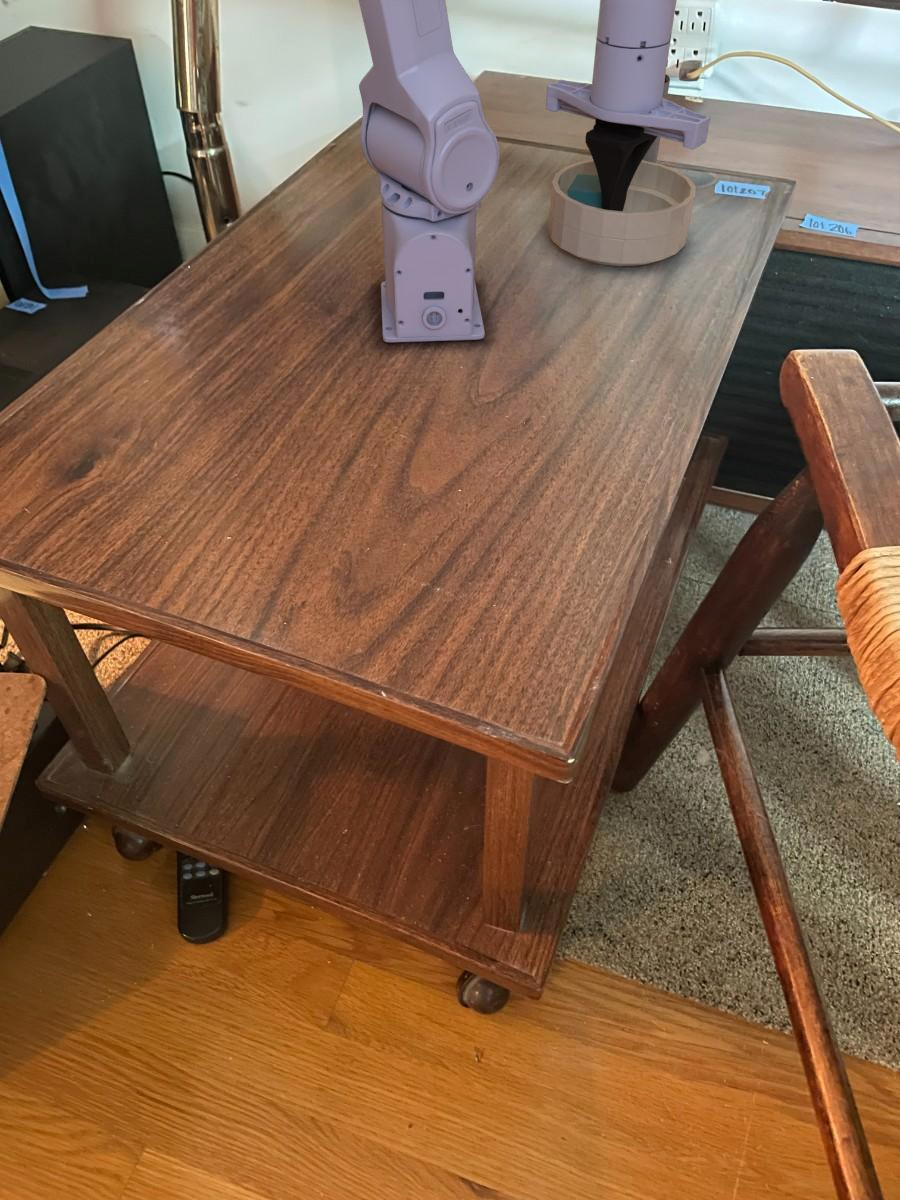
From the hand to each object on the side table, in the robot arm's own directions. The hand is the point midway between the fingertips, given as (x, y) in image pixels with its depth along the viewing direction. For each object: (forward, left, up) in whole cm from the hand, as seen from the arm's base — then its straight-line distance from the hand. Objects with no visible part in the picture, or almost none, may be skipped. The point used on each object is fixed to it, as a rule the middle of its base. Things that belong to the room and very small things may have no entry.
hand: (611, 213), depth 79 cm
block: (+3, +1, -3) cm, 4 cm away
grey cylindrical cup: (+13, -5, -3) cm, 15 cm away
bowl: (+2, -1, -3) cm, 4 cm away
